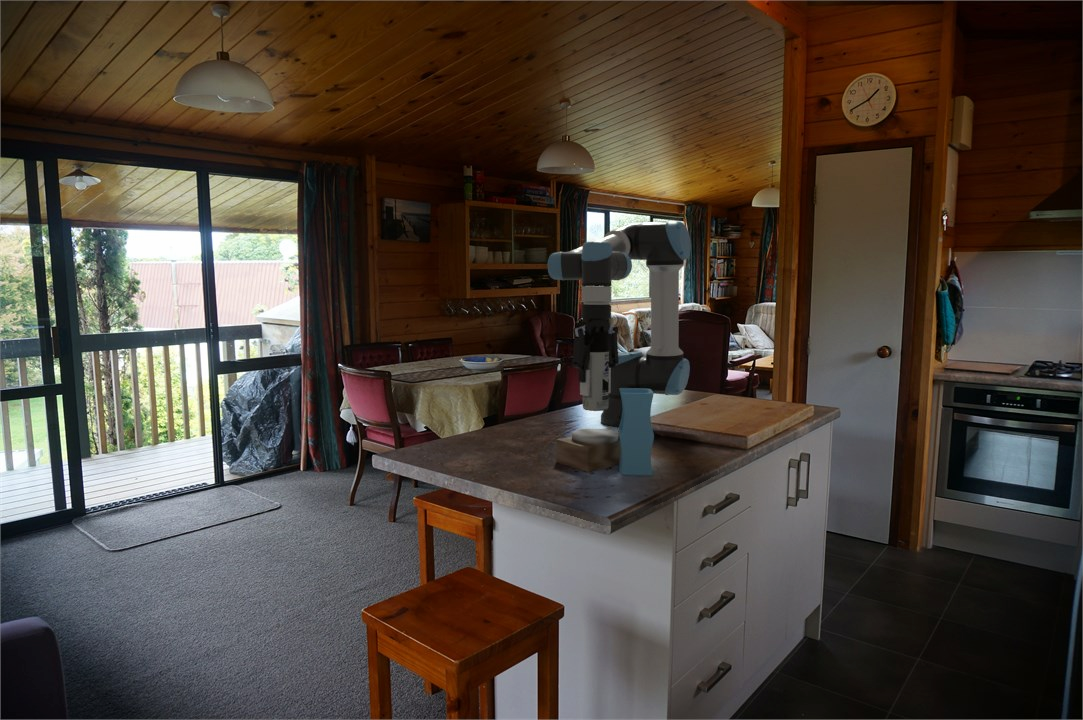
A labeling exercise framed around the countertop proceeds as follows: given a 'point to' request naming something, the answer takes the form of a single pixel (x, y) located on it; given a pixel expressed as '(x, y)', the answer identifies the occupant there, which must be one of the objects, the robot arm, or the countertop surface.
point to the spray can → (598, 372)
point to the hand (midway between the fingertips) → (595, 393)
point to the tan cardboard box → (589, 449)
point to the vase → (636, 432)
